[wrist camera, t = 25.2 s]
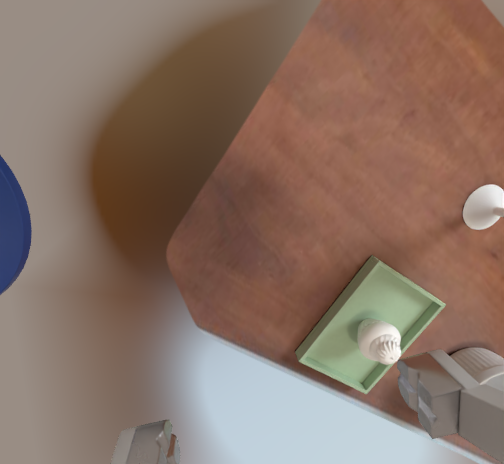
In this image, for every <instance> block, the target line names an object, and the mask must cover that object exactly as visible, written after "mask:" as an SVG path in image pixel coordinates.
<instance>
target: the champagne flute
mask: <svg viewBox="0 0 504 464" xmlns="http://www.w3.org/2000/svg"><path fill="white" fill-rule="evenodd" d="M500 217H504V191H503V190H502V188H500V187H499V186H496V185H485V186H482V187H480V188H478V189H477V190H475V191H474V192H473V193H472V194H471V195H470V196H469V198H468V199H467V201H466V203H465V205H464V208H463V218H464V221H465V223H466V225H467V226H468V227H470V228H472V229H475V230H481V229H485V228H488V227H490V226H492V225H493V224H494V223H496V222H497V221H498V220H499V218H500Z"/></svg>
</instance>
